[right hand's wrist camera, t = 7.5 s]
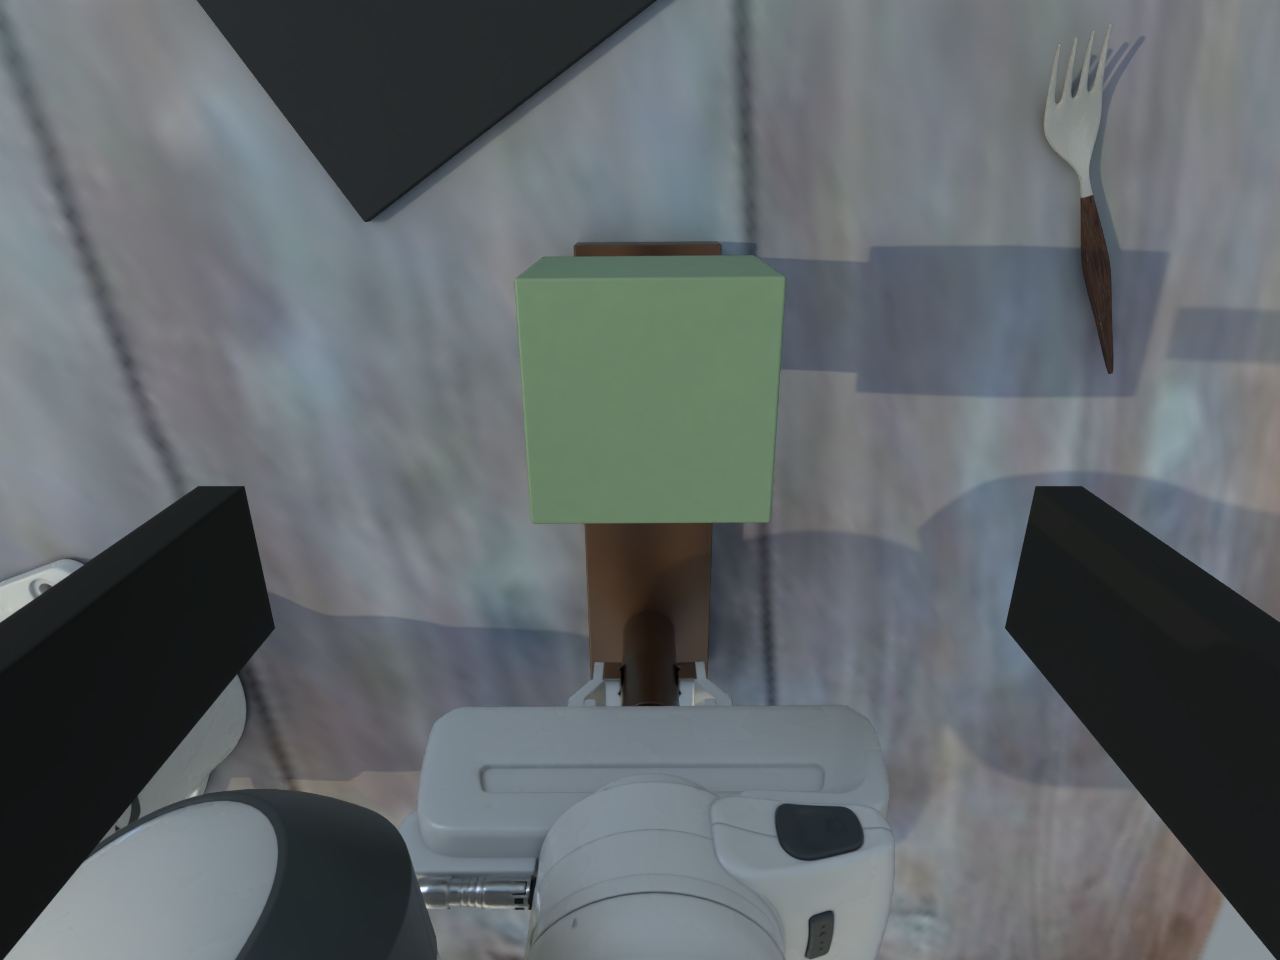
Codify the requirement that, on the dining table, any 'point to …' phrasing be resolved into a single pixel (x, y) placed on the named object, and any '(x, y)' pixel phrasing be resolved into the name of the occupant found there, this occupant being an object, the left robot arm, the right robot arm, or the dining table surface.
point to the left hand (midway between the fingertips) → (650, 671)
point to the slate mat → (406, 74)
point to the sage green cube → (650, 387)
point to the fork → (1084, 177)
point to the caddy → (648, 570)
